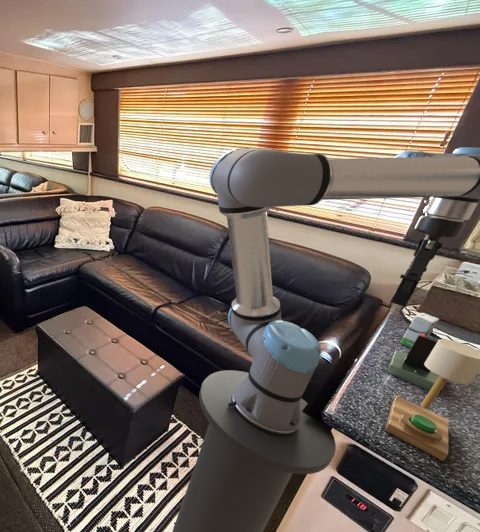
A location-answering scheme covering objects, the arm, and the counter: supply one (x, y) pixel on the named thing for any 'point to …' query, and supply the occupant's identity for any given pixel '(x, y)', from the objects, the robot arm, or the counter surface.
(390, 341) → the counter surface
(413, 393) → the counter surface
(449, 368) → the lamp
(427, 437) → the lamp base
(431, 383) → the dimmer
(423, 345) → the black thin upright slab
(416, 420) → the lamp button
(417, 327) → the ink box
